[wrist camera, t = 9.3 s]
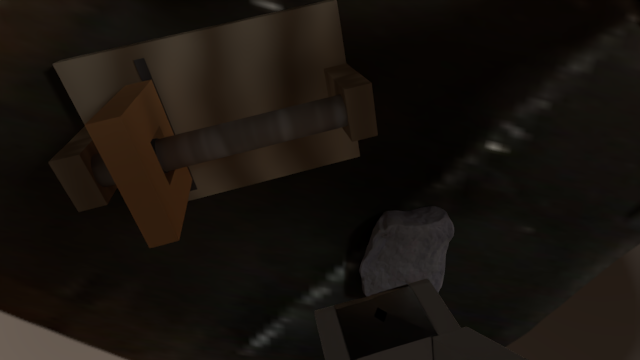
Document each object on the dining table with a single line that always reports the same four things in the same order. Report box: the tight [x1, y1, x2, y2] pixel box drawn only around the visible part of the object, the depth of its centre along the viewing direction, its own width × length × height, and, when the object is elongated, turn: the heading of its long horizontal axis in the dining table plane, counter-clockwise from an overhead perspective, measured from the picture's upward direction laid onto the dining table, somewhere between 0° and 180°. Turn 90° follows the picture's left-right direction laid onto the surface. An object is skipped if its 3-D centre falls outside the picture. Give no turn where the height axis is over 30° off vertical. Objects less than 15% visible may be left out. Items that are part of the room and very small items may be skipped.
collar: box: [85, 80, 192, 248], centre depth 27 cm, size 2×9×9 cm, turn 11°
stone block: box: [359, 206, 454, 296], centre depth 44 cm, size 12×5×10 cm
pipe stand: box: [48, 0, 378, 212], centre depth 30 cm, size 22×14×8 cm, turn 101°
